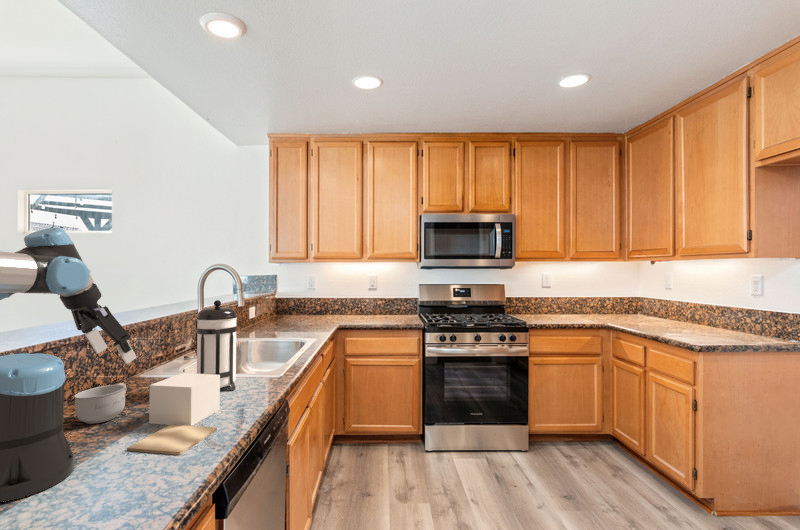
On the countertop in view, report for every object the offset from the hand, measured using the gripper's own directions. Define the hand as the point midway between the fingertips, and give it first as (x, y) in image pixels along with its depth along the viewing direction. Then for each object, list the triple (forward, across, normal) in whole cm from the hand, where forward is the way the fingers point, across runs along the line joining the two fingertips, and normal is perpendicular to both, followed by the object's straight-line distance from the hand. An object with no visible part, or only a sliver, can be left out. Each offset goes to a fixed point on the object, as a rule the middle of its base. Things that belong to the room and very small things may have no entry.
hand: (116, 355), depth 103 cm
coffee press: (+28, -6, -18) cm, 34 cm away
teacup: (+15, +1, +9) cm, 17 cm away
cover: (+18, -18, -1) cm, 25 cm away
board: (+11, -29, +8) cm, 32 cm away
